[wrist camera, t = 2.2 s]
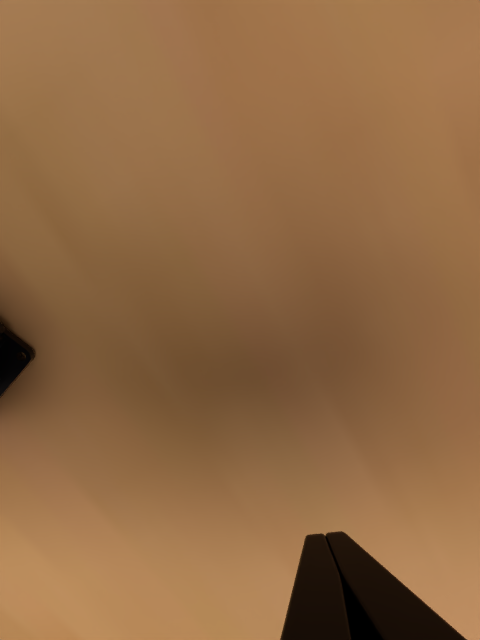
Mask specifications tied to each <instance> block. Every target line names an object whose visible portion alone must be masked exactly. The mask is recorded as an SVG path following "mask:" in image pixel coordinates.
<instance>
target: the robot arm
mask: <svg viewBox="0 0 480 640" xmlns="http://www.w3.org/2000/svg"><path fill="white" fill-rule="evenodd" d="M20 352H23V353H24V354H25V355H26V358H23V357H22V356H21V355H20ZM33 358H34V351H33V349H32V348H31V347H29V346H28V345H27V344H26V343H24V342H23V341H22V340H20V339H19V338H18V337H16V336H15V335H14V334H12V333H11V332H10V331H8V330H7V329H6V328H5V327H4V325H3V324H2V323H0V398H1V396H2V395H3V394H4V393H5V392H6V390H7V389H8V388H9V387H10V386H11V385H12V383H13V382H14V381H15V380H16V379H17V378H18V376H19V375H20V374H21V373H22V372H23V371H24V369H25V368H26V367H27V366H28V365H29V364H30V362H31V361H32V360H33ZM280 640H466V639H465V638H464V637H463V636H462V635H461V634H460V633H458V632H457V631H456V630H455V629H454V628H453V627H452V626H450V625H449V624H448V623H447V622H446V621H445V620H444V619H442V618H441V617H440V616H439V615H438V614H437V613H436V612H434V611H433V610H432V609H431V608H430V607H429V606H428V605H427V604H425V603H424V602H423V601H422V600H421V599H420V598H419V597H417V596H416V595H415V594H414V593H413V592H412V591H411V590H409V589H408V588H407V587H406V586H405V585H404V584H403V583H401V582H400V581H399V580H398V579H397V578H396V577H395V576H393V575H392V574H391V573H390V572H389V571H388V570H387V569H386V568H384V567H383V566H382V565H381V564H380V563H379V562H378V561H376V560H375V559H374V558H373V557H372V556H371V555H370V554H368V553H367V552H366V551H365V550H364V549H363V548H362V547H360V546H359V545H358V544H357V543H356V542H355V541H354V540H352V539H351V538H350V537H349V536H348V535H347V534H346V533H344V532H342V531H340V532H330V533H327V534H326V535H324V534H312V535H307V536H306V538H305V541H304V545H303V549H302V553H301V557H300V562H299V566H298V570H297V574H296V578H295V582H294V586H293V590H292V594H291V598H290V602H289V606H288V610H287V614H286V618H285V623H284V627H283V631H282V635H281V639H280Z"/></svg>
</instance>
